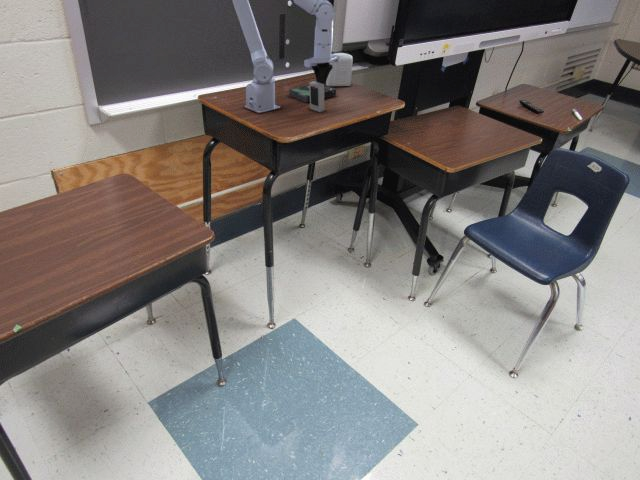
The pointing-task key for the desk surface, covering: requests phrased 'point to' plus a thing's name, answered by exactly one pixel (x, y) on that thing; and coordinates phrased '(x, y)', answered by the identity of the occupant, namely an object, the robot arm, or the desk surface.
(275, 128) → the desk surface
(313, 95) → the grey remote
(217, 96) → the desk surface
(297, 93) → the disk drive
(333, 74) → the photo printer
